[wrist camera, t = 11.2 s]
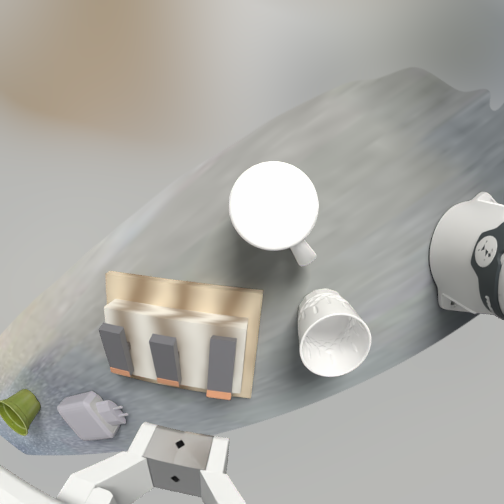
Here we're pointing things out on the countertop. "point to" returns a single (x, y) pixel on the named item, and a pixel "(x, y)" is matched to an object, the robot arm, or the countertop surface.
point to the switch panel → (195, 303)
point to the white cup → (331, 334)
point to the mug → (275, 209)
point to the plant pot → (19, 411)
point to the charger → (92, 416)
